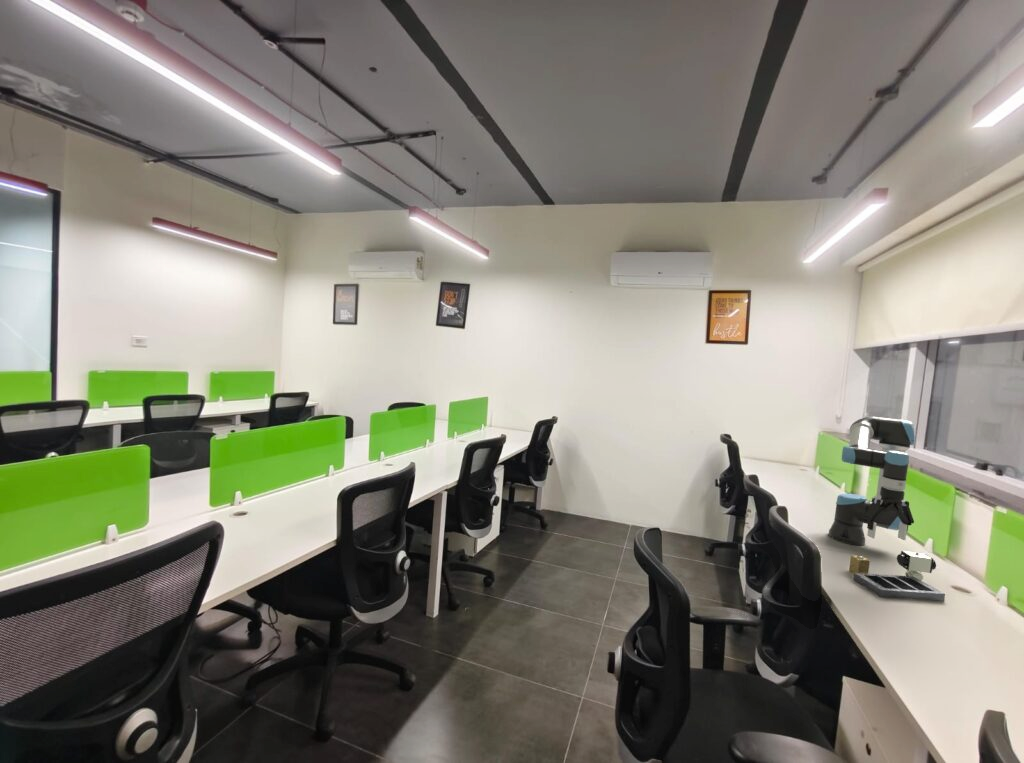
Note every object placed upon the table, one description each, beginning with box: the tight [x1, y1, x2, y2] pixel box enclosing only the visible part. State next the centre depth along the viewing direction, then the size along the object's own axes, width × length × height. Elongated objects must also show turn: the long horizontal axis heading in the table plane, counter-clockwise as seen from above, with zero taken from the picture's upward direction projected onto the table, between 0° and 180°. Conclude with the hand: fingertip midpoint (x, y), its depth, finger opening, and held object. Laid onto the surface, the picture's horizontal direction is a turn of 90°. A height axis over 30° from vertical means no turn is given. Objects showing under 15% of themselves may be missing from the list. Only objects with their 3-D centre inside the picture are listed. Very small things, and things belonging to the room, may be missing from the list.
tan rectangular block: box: [848, 554, 871, 574], centre depth 186 cm, size 4×4×8 cm
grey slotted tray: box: [853, 573, 946, 602], centre depth 174 cm, size 13×25×3 cm, turn 91°
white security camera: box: [896, 550, 937, 581], centre depth 184 cm, size 6×12×12 cm, turn 78°
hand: (886, 538), depth 182 cm, fingers open, 13 cm apart
